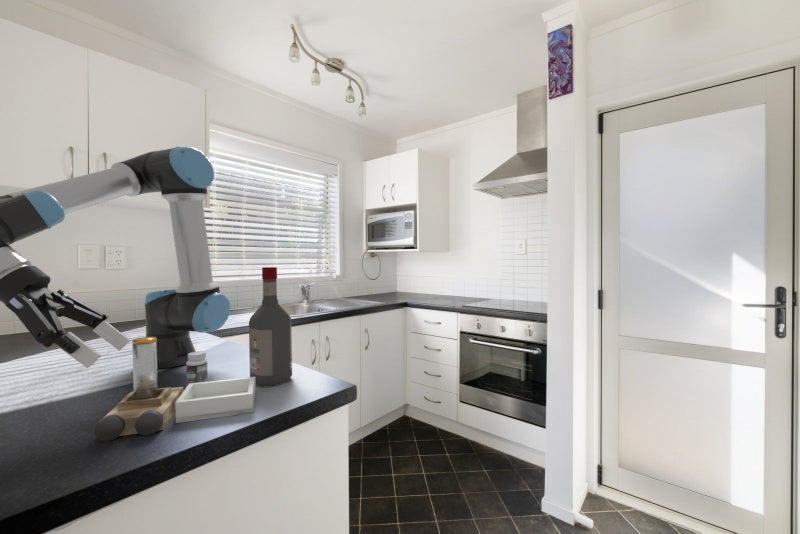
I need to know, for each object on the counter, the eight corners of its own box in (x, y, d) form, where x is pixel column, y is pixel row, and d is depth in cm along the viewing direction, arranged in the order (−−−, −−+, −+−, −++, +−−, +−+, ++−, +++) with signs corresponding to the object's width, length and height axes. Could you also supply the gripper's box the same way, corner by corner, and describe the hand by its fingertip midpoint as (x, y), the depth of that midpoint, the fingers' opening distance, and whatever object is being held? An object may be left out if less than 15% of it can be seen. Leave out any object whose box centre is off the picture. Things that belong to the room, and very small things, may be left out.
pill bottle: (182, 386, 92) (181, 354, 92) (200, 381, 97) (199, 350, 97) (194, 389, 90) (193, 356, 90) (211, 384, 94) (211, 351, 94)
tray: (189, 401, 83) (189, 383, 83) (255, 393, 87) (255, 376, 87) (175, 423, 71) (175, 402, 71) (252, 412, 76) (252, 393, 76)
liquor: (265, 389, 90) (263, 267, 90) (246, 382, 96) (243, 267, 95) (296, 379, 97) (294, 266, 97) (276, 373, 103) (274, 267, 102)
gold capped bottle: (137, 400, 76) (136, 337, 76) (160, 397, 77) (159, 336, 77) (130, 407, 72) (128, 341, 72) (154, 404, 73) (153, 339, 73)
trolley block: (131, 405, 80) (131, 385, 80) (183, 399, 84) (183, 380, 84) (94, 442, 64) (93, 417, 64) (160, 433, 67) (160, 409, 67)
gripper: (36, 288, 78) (121, 352, 83) (-70, 299, 54) (58, 388, 59) (66, 263, 79) (148, 328, 84) (-23, 263, 56) (97, 352, 61)
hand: (111, 353), depth 72 cm, fingers open, 13 cm apart
